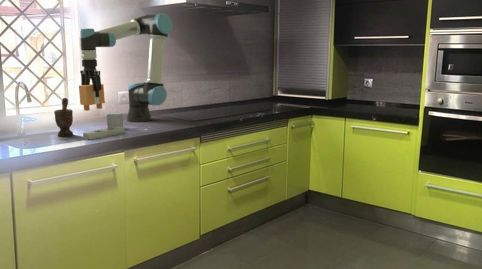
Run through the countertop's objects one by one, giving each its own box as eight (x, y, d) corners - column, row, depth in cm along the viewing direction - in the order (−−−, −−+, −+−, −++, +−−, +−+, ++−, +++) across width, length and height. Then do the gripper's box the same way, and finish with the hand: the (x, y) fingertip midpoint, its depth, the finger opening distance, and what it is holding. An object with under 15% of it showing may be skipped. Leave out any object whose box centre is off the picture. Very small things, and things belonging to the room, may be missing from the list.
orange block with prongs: (98, 107, 241) (96, 83, 238) (105, 108, 237) (103, 84, 235) (80, 110, 232) (78, 85, 229) (88, 111, 228) (86, 86, 226)
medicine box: (123, 128, 248) (122, 112, 247) (121, 129, 244) (120, 113, 242) (109, 128, 248) (108, 112, 246) (107, 129, 244) (106, 114, 242)
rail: (118, 132, 236) (118, 126, 235) (125, 133, 233) (124, 127, 232) (83, 138, 218) (83, 132, 217) (90, 139, 215) (89, 133, 215)
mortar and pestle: (81, 135, 225) (78, 97, 222) (65, 138, 219) (62, 98, 215) (68, 133, 232) (65, 95, 229) (53, 135, 226) (49, 97, 222)
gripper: (71, 59, 231) (75, 102, 236) (94, 59, 221) (98, 105, 226) (83, 58, 238) (87, 101, 242) (106, 58, 227) (110, 103, 232)
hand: (92, 102), depth 234 cm, fingers closed on orange block with prongs, 6 cm apart
